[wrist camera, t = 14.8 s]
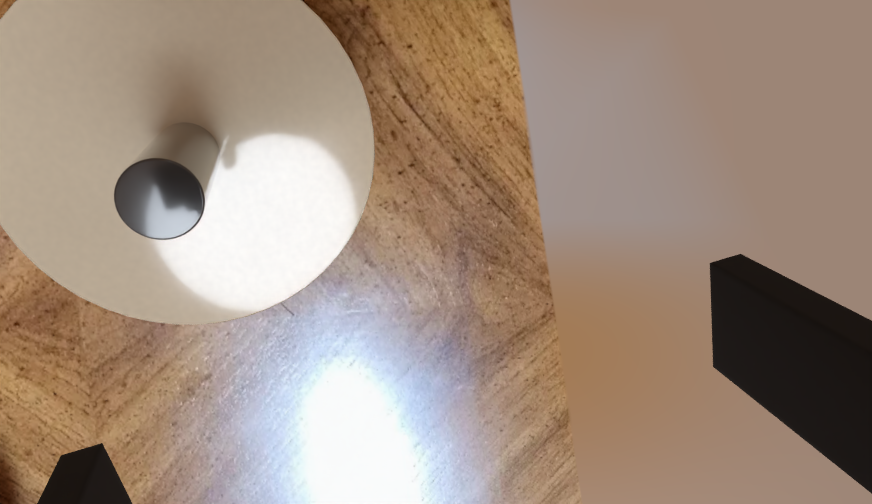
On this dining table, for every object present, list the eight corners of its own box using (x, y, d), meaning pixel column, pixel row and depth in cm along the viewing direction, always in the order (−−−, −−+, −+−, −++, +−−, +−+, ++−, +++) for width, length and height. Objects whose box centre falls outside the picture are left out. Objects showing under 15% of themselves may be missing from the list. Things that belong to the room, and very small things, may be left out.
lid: (318, -89, 27) (340, -137, 19) (404, 261, 34) (450, 340, 25) (-102, -4, 25) (-290, -16, 16) (78, 356, 31) (9, 480, 23)
